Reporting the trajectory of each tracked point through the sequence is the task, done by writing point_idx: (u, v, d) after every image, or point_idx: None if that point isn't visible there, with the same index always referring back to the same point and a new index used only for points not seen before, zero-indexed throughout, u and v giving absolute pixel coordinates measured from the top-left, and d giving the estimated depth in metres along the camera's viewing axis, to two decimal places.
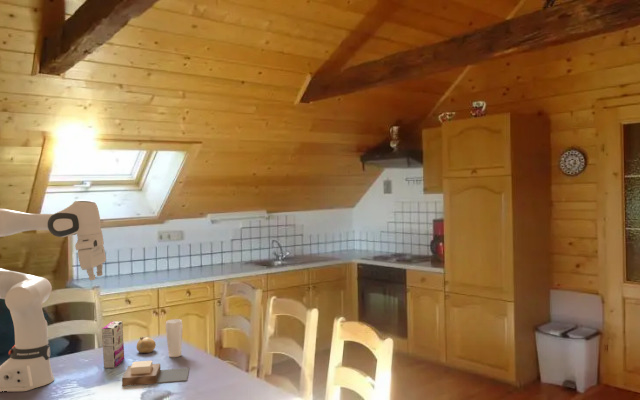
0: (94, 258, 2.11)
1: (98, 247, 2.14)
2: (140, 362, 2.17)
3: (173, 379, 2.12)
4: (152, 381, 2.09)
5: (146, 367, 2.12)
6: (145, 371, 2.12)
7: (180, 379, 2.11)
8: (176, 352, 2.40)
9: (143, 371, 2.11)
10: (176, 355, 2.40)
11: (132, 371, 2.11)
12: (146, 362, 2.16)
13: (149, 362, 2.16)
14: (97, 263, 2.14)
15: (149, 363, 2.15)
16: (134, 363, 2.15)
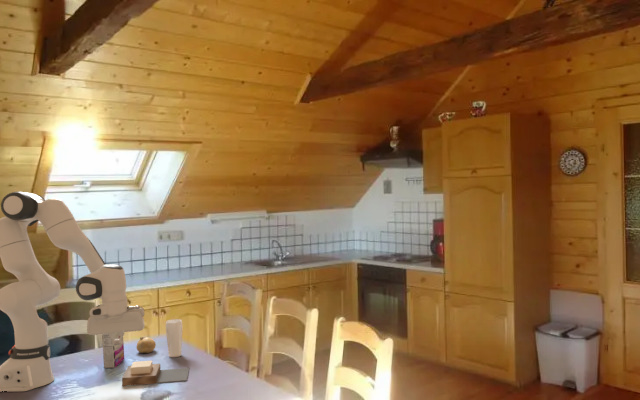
0: (102, 325, 2.10)
1: (110, 315, 2.10)
2: (140, 362, 2.17)
3: (173, 379, 2.12)
4: (152, 381, 2.09)
5: (146, 367, 2.12)
6: (145, 371, 2.12)
7: (180, 379, 2.11)
8: (176, 352, 2.40)
9: (143, 371, 2.11)
10: (176, 355, 2.40)
11: (132, 371, 2.11)
12: (146, 362, 2.16)
13: (149, 362, 2.16)
14: (109, 331, 2.11)
15: (149, 363, 2.15)
16: (134, 363, 2.15)
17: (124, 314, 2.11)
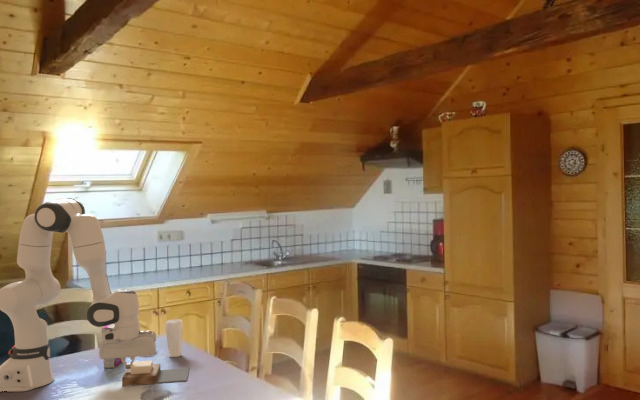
0: (114, 350, 2.11)
1: (122, 340, 2.10)
2: (140, 362, 2.17)
3: (173, 379, 2.12)
4: (152, 381, 2.09)
5: (146, 367, 2.12)
6: (145, 371, 2.12)
7: (180, 379, 2.11)
8: (176, 352, 2.40)
9: (144, 371, 2.11)
10: (176, 355, 2.40)
11: (132, 371, 2.11)
12: (146, 362, 2.16)
13: (149, 362, 2.16)
14: (121, 355, 2.12)
15: (150, 363, 2.15)
16: (134, 363, 2.15)
17: (136, 339, 2.12)
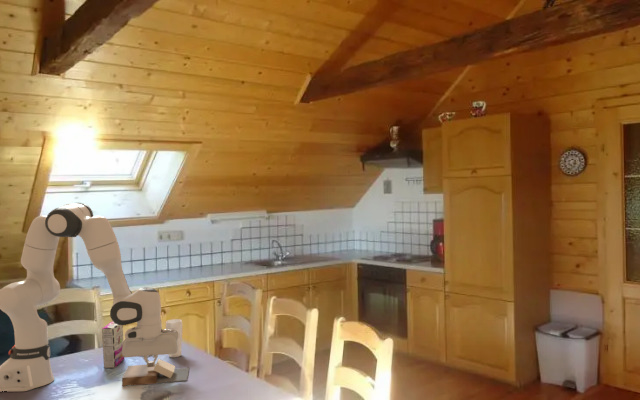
0: (137, 348, 2.12)
1: (145, 338, 2.12)
2: (165, 362, 2.18)
3: (173, 379, 2.12)
4: (152, 381, 2.09)
5: (169, 371, 2.13)
6: (167, 374, 2.13)
7: (180, 379, 2.11)
8: (176, 352, 2.40)
9: (165, 374, 2.13)
10: (176, 355, 2.40)
11: (156, 368, 2.12)
12: (170, 365, 2.18)
13: (172, 367, 2.17)
14: (144, 353, 2.13)
15: (173, 368, 2.16)
16: (159, 361, 2.17)
17: (159, 337, 2.14)
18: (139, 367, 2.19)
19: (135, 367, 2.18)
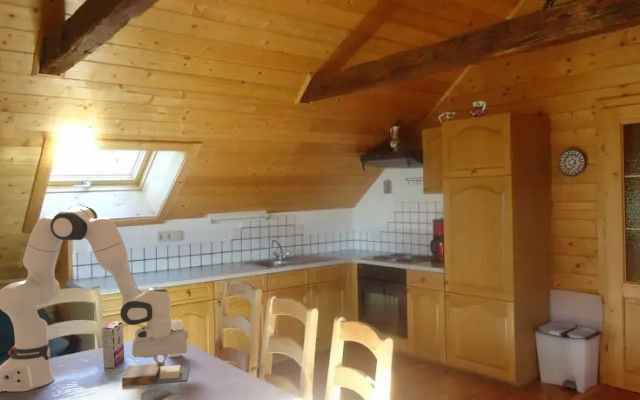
0: (147, 347, 2.13)
1: (155, 338, 2.12)
2: (169, 367, 2.18)
3: (173, 379, 2.12)
4: (152, 381, 2.09)
5: (175, 372, 2.13)
6: (174, 376, 2.13)
7: (180, 379, 2.11)
8: None
9: (172, 376, 2.13)
10: (176, 355, 2.40)
11: (161, 376, 2.12)
12: (175, 367, 2.18)
13: (177, 367, 2.17)
14: (154, 353, 2.14)
15: (178, 368, 2.16)
16: (163, 368, 2.17)
17: (168, 337, 2.14)
18: (139, 367, 2.19)
19: (135, 367, 2.18)
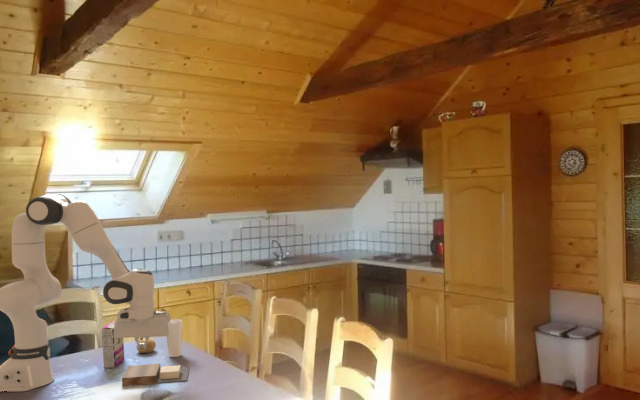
0: (128, 329, 2.12)
1: (137, 320, 2.11)
2: (169, 367, 2.18)
3: (173, 379, 2.12)
4: (152, 381, 2.09)
5: (175, 372, 2.13)
6: (174, 376, 2.13)
7: (180, 379, 2.11)
8: (176, 352, 2.40)
9: (172, 376, 2.13)
10: (176, 355, 2.40)
11: (161, 376, 2.12)
12: (175, 367, 2.18)
13: (177, 367, 2.17)
14: (135, 335, 2.13)
15: (178, 368, 2.16)
16: (163, 368, 2.17)
17: (151, 319, 2.13)
18: (139, 367, 2.19)
19: (135, 367, 2.18)
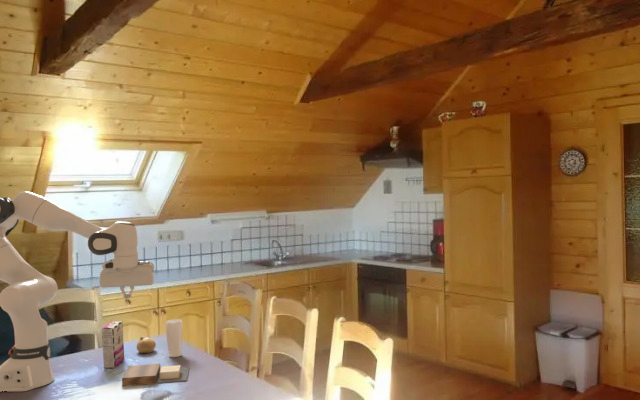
0: (114, 279, 2.21)
1: (122, 269, 2.20)
2: (169, 367, 2.18)
3: (173, 379, 2.12)
4: (152, 381, 2.09)
5: (175, 372, 2.13)
6: (174, 376, 2.13)
7: (180, 379, 2.11)
8: (176, 352, 2.40)
9: (172, 376, 2.13)
10: (176, 355, 2.40)
11: (161, 376, 2.12)
12: (175, 367, 2.18)
13: (177, 367, 2.17)
14: (121, 284, 2.21)
15: (178, 368, 2.16)
16: (163, 368, 2.17)
17: (135, 269, 2.22)
18: (139, 367, 2.19)
19: (135, 367, 2.18)
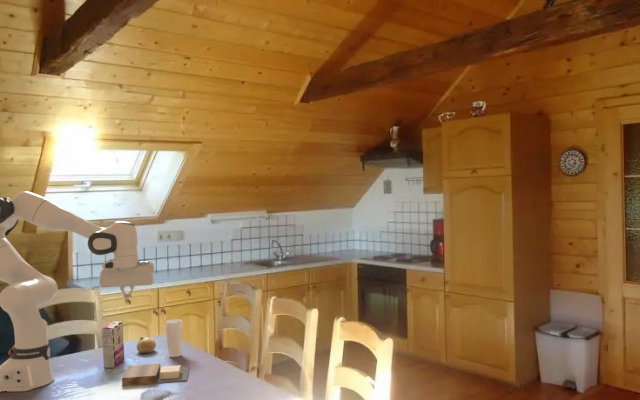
0: (114, 278, 2.21)
1: (121, 269, 2.20)
2: (169, 367, 2.18)
3: (173, 379, 2.12)
4: (152, 381, 2.09)
5: (175, 372, 2.13)
6: (174, 376, 2.13)
7: (180, 379, 2.11)
8: (176, 352, 2.40)
9: (172, 376, 2.13)
10: (176, 355, 2.40)
11: (161, 376, 2.12)
12: (175, 367, 2.18)
13: (177, 367, 2.17)
14: (121, 284, 2.21)
15: (178, 368, 2.16)
16: (163, 368, 2.17)
17: (135, 268, 2.22)
18: (139, 367, 2.19)
19: (135, 367, 2.18)
